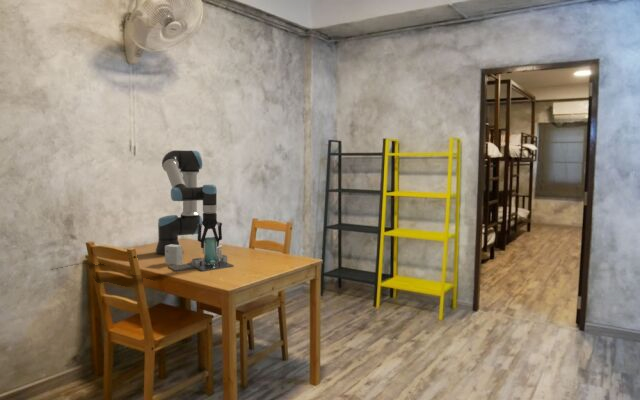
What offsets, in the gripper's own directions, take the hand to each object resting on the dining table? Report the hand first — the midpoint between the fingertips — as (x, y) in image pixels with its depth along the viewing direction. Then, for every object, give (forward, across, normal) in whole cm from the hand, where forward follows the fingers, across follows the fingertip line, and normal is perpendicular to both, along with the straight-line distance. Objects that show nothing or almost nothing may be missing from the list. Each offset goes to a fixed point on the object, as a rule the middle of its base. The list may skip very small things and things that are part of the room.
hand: (209, 253), depth 256 cm
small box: (+7, -17, +14) cm, 23 cm away
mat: (+7, -16, +1) cm, 17 cm away
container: (+7, +7, +16) cm, 19 cm away
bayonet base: (+7, 0, 0) cm, 7 cm away
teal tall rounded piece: (+5, 0, 0) cm, 5 cm away
